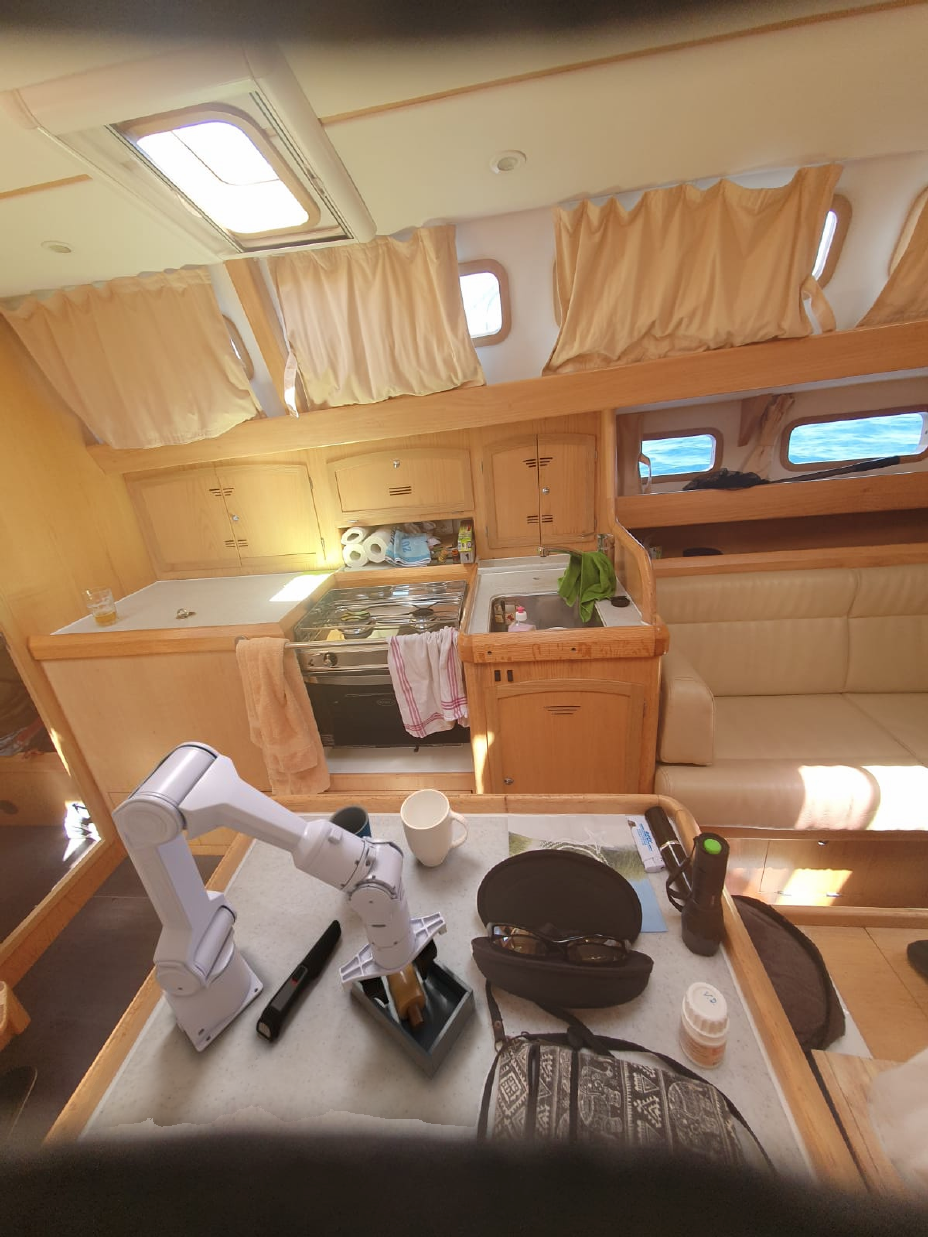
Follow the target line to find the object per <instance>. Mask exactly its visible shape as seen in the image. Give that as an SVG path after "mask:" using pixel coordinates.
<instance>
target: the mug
mask: <svg viewBox="0 0 928 1237" xmlns="http://www.w3.org/2000/svg"><path fill="white" fill-rule="evenodd" d="M399 812H400V818H401V823H402V827H403V831H404V832H403V833H404V835H405V839H406V843H407V846H408V848H409V850H410V851H411V853H412V854H413V856H415V857H416V858H417V859H418V860H419V862H420V863H421V864H422V865H424V866H426V867H429V868H434V867H437V866H440V865H441V864H442V863H443V862H444V860H445V859H446V857H447V855H448V853H449V852H450V850H451V849H457V848H459V847H461V846H462V845H463V844H465V843H466V841H467V839H468V834H469V825H468V822H467V820H466V819H465V817H464V816H462V815H461V814H460V813H458V812H455V811H453V810H452V809H451V807H450V802H449V799H448V797H447V796H446V795H445V794H444V793H443V792H441V791H439V790H436V789H430V788H428V789H427V788H425V789H420V790H418V791H415V792H413V793H412V794H410V795H409V796H408V797H407V798H406V799H405V800H403V803H402V805H401V807H400V811H399ZM453 821H456V822H457V823H459V824H461V825H462V826H463V827H464V828H465V831H466V832H465V834H464V835H463V836H462V837H460V838H458V839H456V840H454V826H453Z"/></svg>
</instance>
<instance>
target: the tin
mask: <svg viewBox="0 0 928 1237" xmlns="http://www.w3.org/2000/svg"><path fill="white" fill-rule="evenodd" d="M412 964H413V966H414V969H415V971H416V974H417V977H418V979H419V982H420V984H421V987H422V990H423V992H424V995H425V997H426V1003H425V1005H424V1007H423V1008H422V1009H421V1011H422V1014H423V1017H424V1020H425V1025H424V1027H423V1028H422V1029H421V1030H419V1031H417V1032H414V1031H413V1030H412V1027H411V1024H410V1021H409V1019H405V1020H403V1019H400V1018H399V1016H398V1013H397V1010H396V1006H395V1003H394V1000H393V997H392V994H391V991H390V988H389V985H388V982H387V979H386V975H385V976H381V978H382V981H383V983H384V987H385V990H386V993H387V996H388V999H389V1003H388V1004H387V1005H384V1003H383V1002H382V1001H380V1000H379V999H377V998H367V997H366V995H365V994H364V991H363V988H362V984H361V981H356V982H353V983H352V984H353V987H352V988H351V989H350V990H349V991H350V993H351V994H352V995H353V996H354V997H355V998H356V999H357V1000H358V1001H359V1002H360V1004H361V1005H362V1006H363V1007H364V1008H365V1009H366V1010H367V1011H368V1012H369V1014H371V1016H372V1017H373V1018H374V1019H375V1020H376V1022H378V1023H379V1024H380V1026H381V1027H383V1029H384V1030H385V1031H386V1032H387V1033H388V1034H389V1035H390V1036H391V1037H392V1038H393V1040H395V1042H396V1043H397V1044H398V1045H399V1046H400V1047H401V1048H402V1049H403V1050H404V1052H405V1053H406V1054H407V1056H409V1057H410V1058H411V1059H412V1061H414V1062H415V1063H416V1065H418V1067H419V1068H420V1069H421V1070H422V1071H423V1072H424V1073H425V1074H426V1075H427V1077H428V1078H429V1079H431V1080H432V1079H433V1078H434V1077H435V1075H436V1073H437V1072H438V1070H439V1069H440V1068H441V1065H442V1064H443V1062H444V1060H445V1059H446V1057H447V1056H448V1054H449V1052H450V1050H451V1049H452V1047H453V1046H454V1044H455V1042H456V1041H457V1040H458V1038H459V1036H460V1035H461V1033H462V1031H463V1030H464V1029H465V1026H466V1025H467V1024H468V1021H469V1020H470V1018H471V1017H472V1015H473V1014H474V1012H475V1010H476V1002H475V995H474V994H475V993H474V989H473V988H472V987H471V986H470V985H468V984H467V983H466V982H465V981H463V980H462V979H461V978H460V977H459V976H458V975H457V974H455V973H454V972H453V971H452V970H451V969H450V968H448V967H447V965H445V964H444V963H443V962H442V961H440V960H439V959H438V958H437V957H436V958H435V959H434V960H433V961H432V963H431V965H430V967H429V970H428V975H427V979H426V980H425V981H422V979H421V976H420V973H419V971H418V968H417V965H416V960H415V959H414V960H413V961H412Z"/></svg>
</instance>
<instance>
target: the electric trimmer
mask: <svg viewBox="0 0 928 1237" xmlns="http://www.w3.org/2000/svg"><path fill="white" fill-rule="evenodd" d="M342 933H343V932H342V927H341V922H340V921H339V920H338V919H334V920H332V921H331V923H330V925H328V927H327V928H326V929H325V930H324V932H323V933H322V934H321V936H320V937H319V938H318V940H317V941H316V942H315V944H314V945H313V946H312V948H310V950H309V952H307V954H306V955H305V957H304V958H303V959H302V960H301V961H300V962H299V964H298V965H297V966H296V967H295V968H294V969H293V970H292V972H291V973H290V974H289V976H288V977H287V978H286V980H284V982H283V983H282V985H281V986H280V987H279V989H278V990H277V991H276V992H275V994H274V995H273V996H272V998H271V999H270V1000H269V1001H268V1003H267V1004H266V1006H265V1007H264V1008H263V1010H262V1012H261V1014H260V1017H258V1018H259V1019H258V1020H257V1022H256V1025H255V1032H256V1033H257V1034H258V1035H259V1036H260V1037H262V1038H263V1039H264V1040H266V1041H267V1042H268V1043H272V1042H273V1041H274V1040H275V1039H278V1038H279V1035H280V1032H281V1030H282V1025H283V1022H284V1020H285V1019H286V1018H287V1016H288V1015H289V1013H290V1012H291V1010H292V1008H293V1007H294V1006H295V1004H296V1003H297V1002H298V999H299V998H300V997H301V995H302V994H303V992H304V991H305V989H306V988H307V987H308V985H309V984H310V983H311V981H313V980H314V979H316V978H318V977H319V975H320V974H321V972H322V971H323V969H324V967H325V965H326V963H327V962H328V960H329V958H330V956H331V954H332V953H333V951H334V949H335V947H336V945H337V944H338V942H339V940H340V938H341V937H342Z"/></svg>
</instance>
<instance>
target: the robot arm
mask: <svg viewBox="0 0 928 1237" xmlns="http://www.w3.org/2000/svg"><path fill="white" fill-rule="evenodd" d="M110 816H111V818H112V820H113V823H114V825H115V828H116V831H117V833H118V835H119V838H120V840H121V842H122V844H123V846H124V848H125V851H127V854H128V856H129V858H130V860H131V863H132V864H133V866H134V868H135V871H136V872H137V875H138V877H139V879H140V880H141V883H142V885H143V887H144V890H145V891H146V894H147V896H148V898H149V900H150V902H151V904H152V906H153V908H154V910H155V912H156V915H157V916H158V919H159V920H160V922H161V925H162V930H161V932H160V935H159V938H158V942H157V944H156V947H155V951H154V954H153V958H152V962H153V963H154V965H155V970H154V979H155V982H156V984H157V986H159V988H160V989H161V992H162V994H163V996H164V998H165V1000H166V1002H167V1003H168V1005H169V1007H170V1009H171V1010H172V1012H173V1014H174V1015H175V1017H176V1018H177V1019H176V1020H175V1022H176V1024H177V1025H178V1028H179V1030H180V1031H181V1033H184V1032H185V1033H186V1034H187V1036H188V1038H189V1039H190V1041H191V1043H192V1044H193V1046H194V1047H195V1049H196V1051H197V1052H198V1053H201V1052H203V1051H204V1050H205V1049H206V1048H207V1047H208V1046H209V1045H210V1044H211V1043H212V1042H213V1041H214V1040H215V1039H216V1038H217V1037H218V1036H219V1035H220V1034H221V1033H222V1032H223V1030H225V1029H226V1027H228V1026H229V1025H230V1023H232V1021H234V1020H235V1019H236V1017H238V1015H239V1014H240V1013H242V1011H243V1010H245V1008H246V1007H247V1006H248V1005H249V1004H250V1003H252V1001H253V1000H254V999H255V998H256V997H257V996H258V995H259V994H260V993H261V992H262V991H263V989H264V985H263V983H262V981H261V980H260V978H258V976H257V975H256V973H255V972H254V971H253V970H252V968H251V967H250V966H249V964H248V963H247V962H246V961H245V959H244V957H243V956H242V955H241V953H240V950H239V949H238V946H237V944H236V941H235V940H234V936H235V931H236V930H235V929H234V925H235V923H236V921H237V919H238V912H237V910H236V908H235V907H234V905H233V904H232V903H231V902H229V901H228V900H227V898H226V897H225V894H224V892H221V891H216V890H208V889H206V886H205V884H204V882H203V879H202V877H201V874H200V871H199V870H198V869H199V868H198V866H197V864H196V862H195V859H194V856H193V854H192V852H191V849H190V847H189V844H188V841H193V840H195V839H197V838H199V837H201V836H203V835H206V834H208V833H210V832H212V831H215V830H218V829H219V828H222V827H224V828H227V829H228V830H229V829H230V830H232V831H235V832H237V833H240V834H242V835H244V836H247V837H250V838H252V839H255V840H258V841H259V842H260V841H261V842H263V843H265V844H268V845H270V846H273V847H276V848H279V849H281V850H283V851H286V852H288V853H290V854H291V856H292V860H293V864H294V867H295V868H296V869H297V870H299V871H300V872H303V873H305V874H307V875H309V876H311V877H313V878H315V879H317V880H318V881H321V882H323V883H325V884H328V885H329V886H331V887H333V888H336V889H337V890H339V891H342V892H343V893H346V894H348V898H347V899H346V904H347V905H348V907H349V908H350V909H351V910H352V911H354V912H355V913H357V914H358V915H359V916H360V917H361V922H362V923H363V926H364V929H365V933H366V936H367V940H368V941H367V943H366V944H365V945H364V946H363V947H362V948H360V950H359V951H358V952H357V953H356V954H355V955H354V956H353V957H352V958H351V959H350V960H348V962H347V963H345V964H344V965H342V966H341V967H340V968H338V974H339V978H340V982H341V986H342V989H343V992H345V993H347V992H348V991H350V989H351V988H352V987H353V984H352V983H353V982H356V981H361V984H362V988H363V991H364V994H365V995H366V997H367V998H377V999H379V1000H380V1001H382V1002H383V1003H384V1005H387V1004H388V1003H389V999H388V996H387V993H386V990H385V987H384V983H383V981H382V978H381V976H385V975H390V974H395V973H398V972H400V971H402V970H404V969H405V968H406V967H407V966H408V965H409V964H410V963H411V962H412V961H413V960H414V959H415V960H416V965H417V968H418V971H419V973H420V976H421V979H422V981H425V980H426V979H427V975H428V970H429V967H430V965H431V963H432V961H433V960H434V959H435V958H437V957H438V948H437V945H436V943H435V940H434V937H435V936H436V935H437V934H438V935H440V936H442V935H444V934H446V933H448V930H447V923H446V920H445V919H444V917H443V915H442V913H441V911H437V912H435V913H432V914H430V915H425V916H421V917H415V918H412V917H411V914H410V910H409V904H408V901H407V896H406V895H407V894H406V891H405V889H404V884H403V878H402V872H403V866H404V857H405V856H404V852H403V849H402V848H401V847H400V846H399V845H398V844H397V843H395V842H394V841H392V840H390V839H388V838H381V837H377V838H376V837H375V838H374V837H372V838H370V837H366V836H364V837H363V838H360V837H358V836H356V835H354V834H352V833H350V832H348V831H346V830H345V829H343V828H341V827H339V826H337V825H335V824H333V823H331V822H329V819H325V818H318V819H316V820H311V821H306V820H305V819H304V818H303V817H300V816H299V815H297V814H296V813H295V812H292V810H290V809H288V808H287V807H284V806H283V805H282V804H280V803H279V802H277V801H276V800H274V799H272V798H271V797H270V796H268V795H266V794H265V793H263V792H262V791H260V790H258V789H257V788H255V787H253V785H251V784H249V783H247V782H246V781H245V780H243V779H241V777H240V775H239V774H238V771H237V769H236V767H235V765H234V762H233V760H232V759H231V758H230V757H228V756H226V755H224V754H220V753H219V752H218V751H217V750H216V749H215V748H214V747H212V746H210V745H208V744H206V743H203V742H199V741H185V742H182V743H181V744H179V745H177V746H176V747H175V748H173V749H172V750H171V751H170V752H168V753H167V754H166V755H165V756H164V757H163V758H162V759H161V760H160V762H159V763H158V764H157V765H156V766H155V768H154V769H153V770H152V771H151V772H150V773H149V774H148V775H147V776H146V777H145V778H144V779H143V780H142V781H141V783H140V784H138V786H137V787H136V788H135V789H134V790H133V791H132V792H131V793H130V794H129V795H128V797H126V799H124V801H123V802H121V803H120V804H119V805H117V807H116V808H115V809H114V810H113V811H112V812H111V814H110ZM184 831H186V836H185V834H184Z"/></svg>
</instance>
